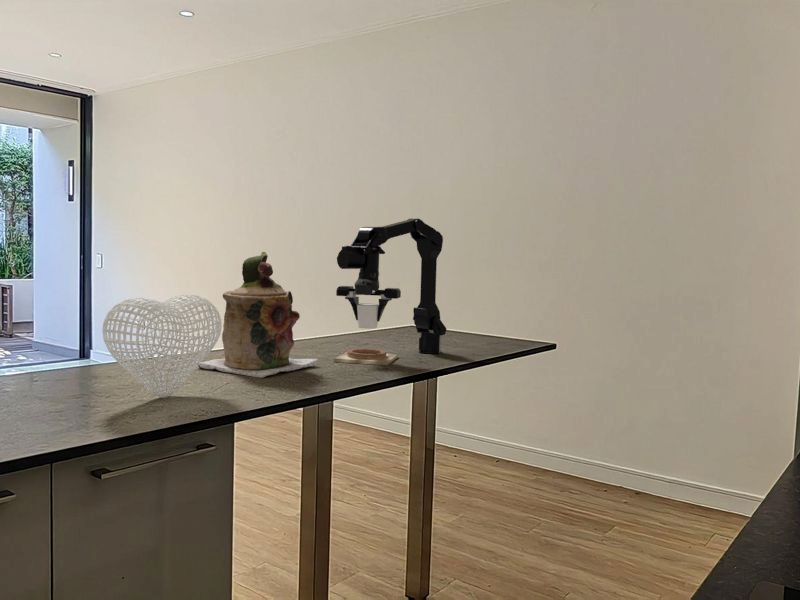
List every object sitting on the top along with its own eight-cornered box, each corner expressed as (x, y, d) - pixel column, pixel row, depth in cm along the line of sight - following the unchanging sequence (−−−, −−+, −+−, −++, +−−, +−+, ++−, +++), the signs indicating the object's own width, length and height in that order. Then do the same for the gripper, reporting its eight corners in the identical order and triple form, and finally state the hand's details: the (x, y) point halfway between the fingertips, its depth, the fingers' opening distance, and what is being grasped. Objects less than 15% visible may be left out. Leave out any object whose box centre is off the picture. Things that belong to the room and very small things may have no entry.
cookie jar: (192, 368, 192) (194, 249, 189) (252, 357, 214) (253, 250, 211) (266, 379, 180) (268, 253, 178) (320, 366, 202) (323, 253, 200)
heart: (140, 414, 140) (141, 302, 139) (86, 404, 147) (85, 297, 146) (234, 391, 165) (235, 295, 163) (184, 383, 172) (185, 291, 170)
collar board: (397, 357, 221) (397, 349, 221) (387, 365, 207) (387, 356, 207) (347, 354, 225) (347, 346, 224) (334, 361, 210) (334, 353, 210)
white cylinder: (351, 326, 215) (352, 303, 214) (367, 325, 220) (368, 302, 219) (367, 329, 210) (368, 305, 210) (383, 327, 215) (384, 304, 215)
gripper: (331, 268, 208) (330, 321, 209) (394, 271, 204) (392, 325, 205) (342, 267, 218) (340, 318, 220) (401, 269, 215) (400, 321, 216)
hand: (367, 320), depth 215 cm, fingers closed on white cylinder, 6 cm apart
